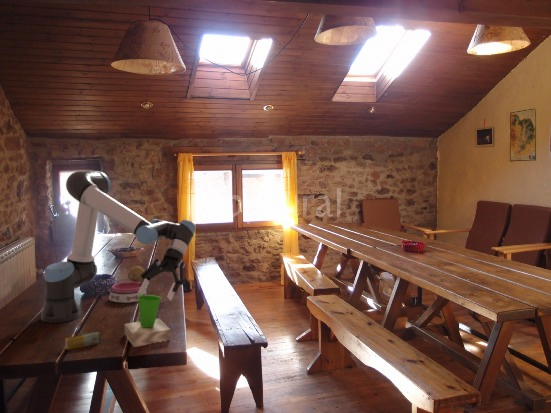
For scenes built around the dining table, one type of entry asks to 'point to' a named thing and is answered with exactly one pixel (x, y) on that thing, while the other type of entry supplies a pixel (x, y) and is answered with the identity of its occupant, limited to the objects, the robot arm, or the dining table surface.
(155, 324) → the birch block
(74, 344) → the medication box
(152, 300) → the cup
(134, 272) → the natural sponge
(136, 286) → the dog bowl
